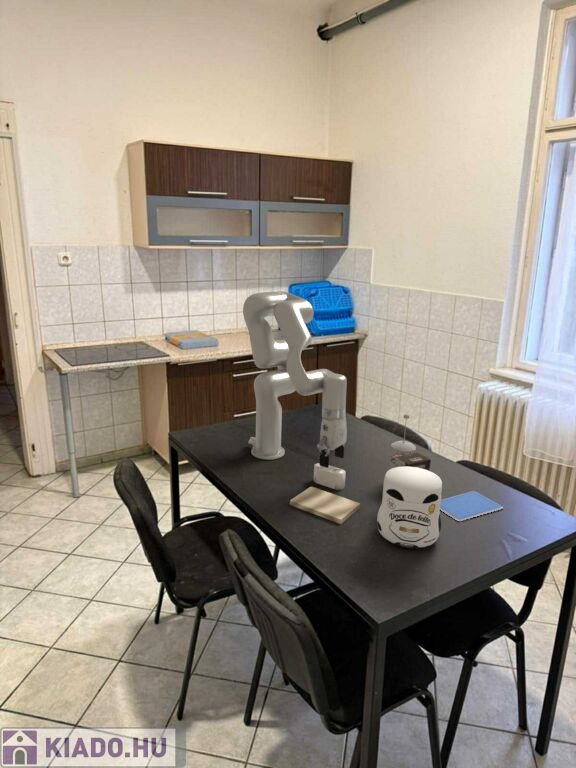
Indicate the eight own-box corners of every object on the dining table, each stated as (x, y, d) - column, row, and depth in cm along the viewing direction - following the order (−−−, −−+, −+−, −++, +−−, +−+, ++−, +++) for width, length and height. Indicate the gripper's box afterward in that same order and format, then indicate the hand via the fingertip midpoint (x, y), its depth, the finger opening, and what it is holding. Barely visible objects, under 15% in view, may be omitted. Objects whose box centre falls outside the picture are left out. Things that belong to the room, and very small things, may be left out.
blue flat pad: (458, 524, 159) (459, 520, 158) (429, 505, 169) (429, 501, 169) (504, 510, 168) (504, 507, 167) (473, 493, 178) (474, 489, 178)
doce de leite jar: (399, 560, 140) (405, 497, 135) (364, 526, 155) (369, 469, 150) (452, 546, 146) (460, 487, 141) (413, 516, 162) (420, 461, 157)
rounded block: (311, 481, 182) (311, 466, 180) (317, 476, 185) (318, 461, 184) (340, 491, 175) (341, 475, 174) (346, 486, 179) (348, 471, 177)
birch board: (289, 504, 166) (290, 500, 165) (310, 490, 175) (311, 486, 175) (340, 524, 156) (340, 519, 155) (360, 507, 165) (360, 503, 165)
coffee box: (402, 513, 163) (408, 464, 159) (389, 503, 169) (394, 456, 164) (426, 507, 167) (431, 459, 163) (412, 497, 173) (417, 451, 168)
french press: (379, 483, 182) (385, 413, 175) (397, 473, 190) (404, 406, 183) (404, 493, 175) (412, 421, 168) (422, 482, 183) (430, 413, 176)
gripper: (329, 421, 164) (328, 473, 169) (356, 408, 178) (354, 456, 182) (309, 416, 168) (307, 467, 173) (337, 404, 182) (335, 451, 186)
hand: (331, 461), depth 177 cm, fingers open, 9 cm apart
